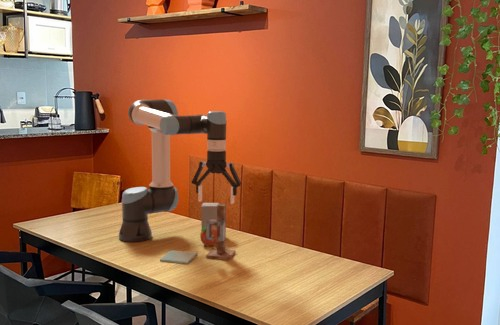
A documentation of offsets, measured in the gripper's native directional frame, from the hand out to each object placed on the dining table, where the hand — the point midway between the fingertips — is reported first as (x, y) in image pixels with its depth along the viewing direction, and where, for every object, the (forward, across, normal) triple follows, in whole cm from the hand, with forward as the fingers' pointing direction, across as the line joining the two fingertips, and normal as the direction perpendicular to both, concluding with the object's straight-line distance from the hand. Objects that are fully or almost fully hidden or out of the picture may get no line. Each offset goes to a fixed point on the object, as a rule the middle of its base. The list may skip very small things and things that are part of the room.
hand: (216, 202), depth 204 cm
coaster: (+25, -16, 0) cm, 30 cm away
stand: (+25, 0, +4) cm, 25 cm away
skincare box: (+25, -13, +34) cm, 44 cm away
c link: (+16, 0, 0) cm, 16 cm away
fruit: (+25, -9, +20) cm, 34 cm away
